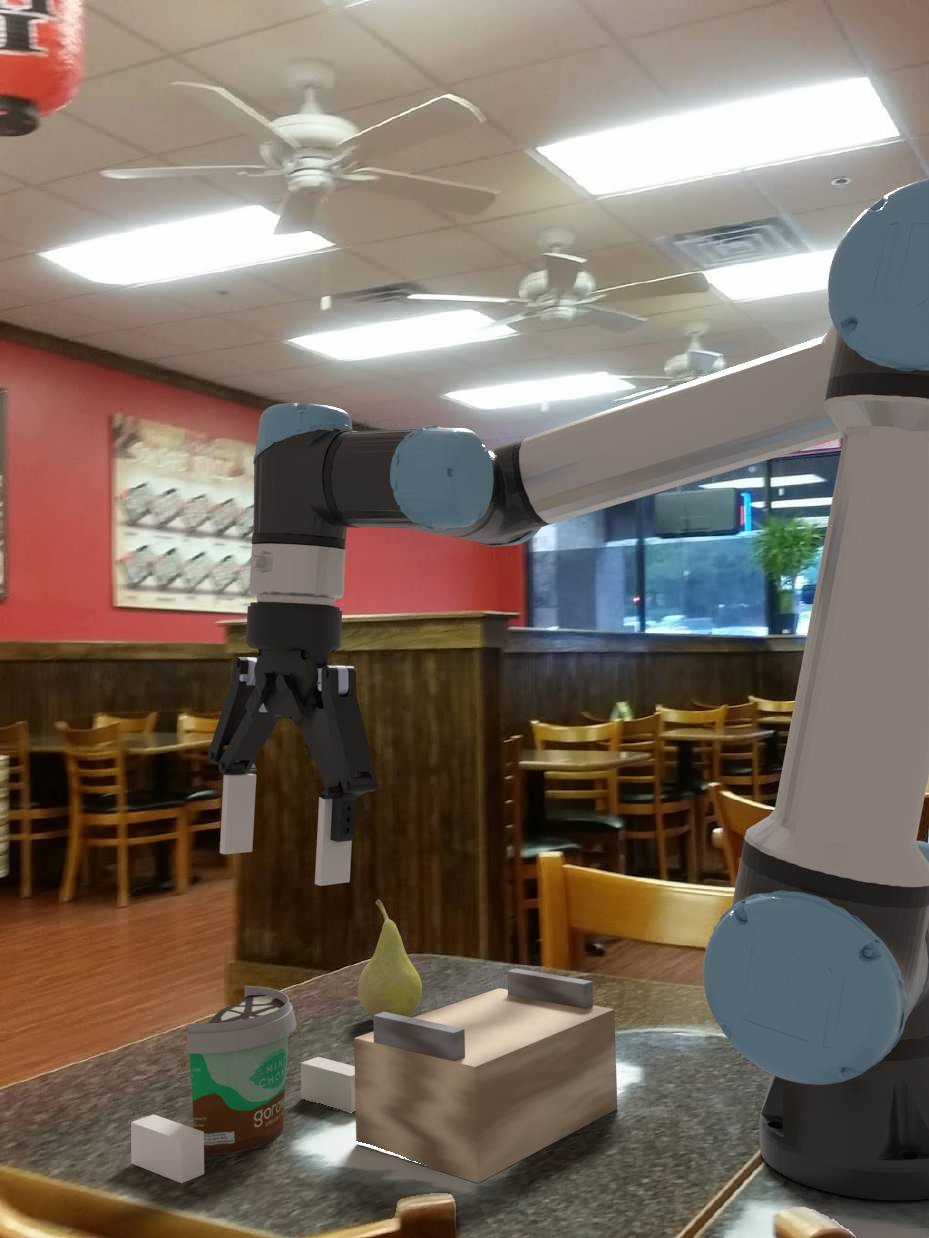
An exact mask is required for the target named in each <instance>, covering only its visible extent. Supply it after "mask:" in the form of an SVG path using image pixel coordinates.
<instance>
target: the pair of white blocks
mask: <svg viewBox="0 0 929 1238" xmlns="http://www.w3.org/2000/svg"><path fill="white" fill-rule="evenodd" d="M300 1078H301V1080H300V1081H301V1082H300V1084H301V1086H300V1087H301V1089H300V1090H301V1092H300V1093H301V1099H302V1100H304V1099H305V1101H308V1102H312V1103H315V1102H316V1103H315V1104H318V1103H321V1104H324V1105H323V1106H325V1105H327V1106H326V1107H328V1106H331V1107H334V1108H333V1109H335V1108H337V1109H336V1110H338V1109H341V1110H340V1111H342V1110H344V1111H343V1112H345V1111H348V1112H353V1111H355V1110H356V1108H355V1065H351V1064H347V1063H343V1062H340V1061H335V1060H333V1059H328V1058H324V1057H320V1056H317V1057H314V1058H311V1059H308V1060H304V1061H303V1062H300ZM321 1104H320V1105H321ZM331 1107H330V1108H331ZM348 1112H347V1113H348ZM130 1133H131V1134H130V1138H131V1139H130V1140H131V1142H130V1146H131V1147H130V1148H131V1149H130V1151H131V1157H130V1158H131V1160H130V1161H131V1162H130V1163H131V1164H132V1165H134V1166H137V1167H140V1168H142V1169H144V1170H147V1171H150V1172H153V1173H154V1174H157V1175H160V1176H162V1177H164V1178H166V1179H170V1180H172V1181H175V1182H176V1183H180V1184H183V1183H186V1182H188V1181H191V1180H193V1179H195V1178H198V1177H200V1176H203V1175H205V1155H204V1132H203V1131H200V1130H197V1129H194V1127H191V1126H188V1125H185V1124H182V1123H180V1122H178V1121H174V1120H171V1119H168V1118H165V1117H162V1116H159V1115H156V1114H153V1113H152V1114H151V1115H148V1116H144V1117H142V1118H139V1119H137V1120H133V1121H131V1122H130Z"/></svg>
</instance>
